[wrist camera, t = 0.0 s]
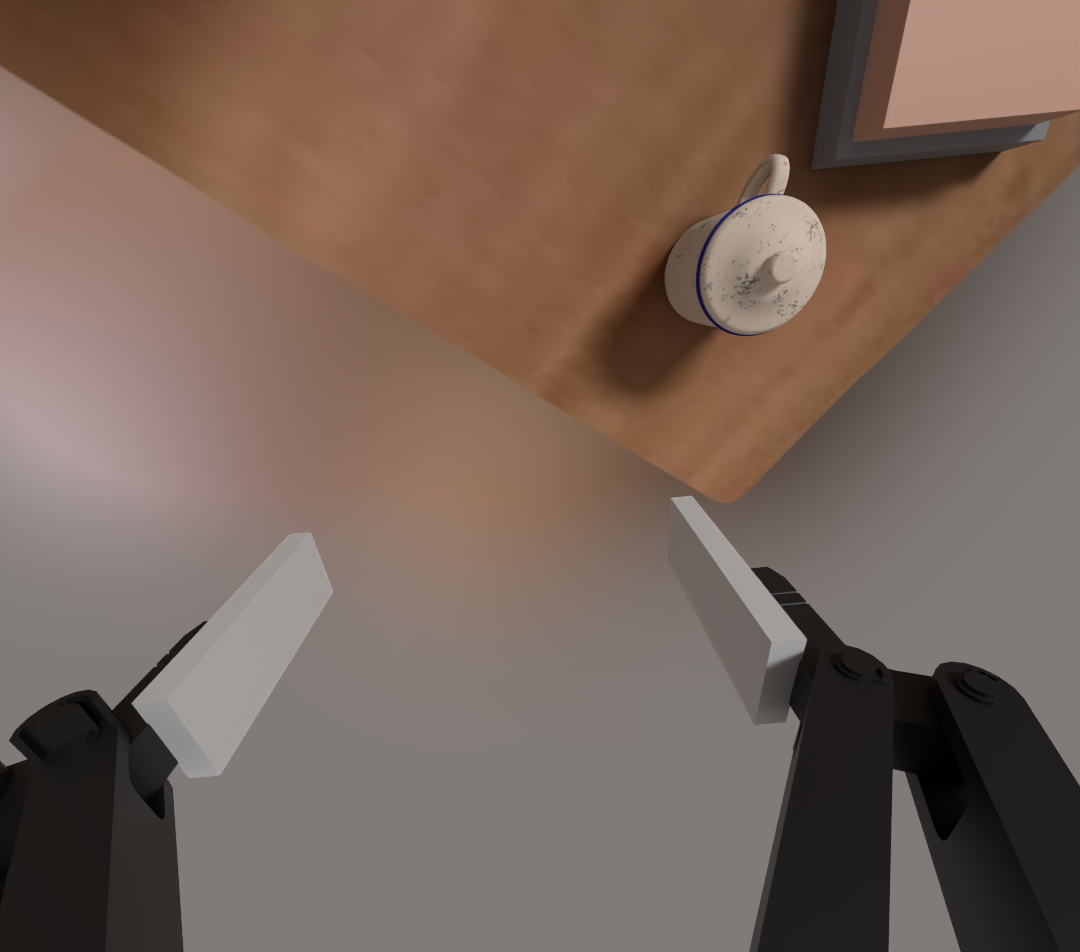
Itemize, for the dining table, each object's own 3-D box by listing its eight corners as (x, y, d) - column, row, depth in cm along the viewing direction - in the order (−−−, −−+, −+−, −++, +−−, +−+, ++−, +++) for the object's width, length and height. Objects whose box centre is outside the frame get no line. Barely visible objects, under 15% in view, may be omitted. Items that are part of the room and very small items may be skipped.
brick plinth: (856, -123, 27) (939, -225, 22) (1096, -147, 27) (1239, -254, 22) (810, 169, 34) (865, 147, 29) (1002, 151, 34) (1093, 125, 29)
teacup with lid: (739, 333, 39) (818, 350, 29) (648, 317, 38) (696, 329, 28) (790, 184, 34) (909, 140, 24) (687, 162, 34) (764, 106, 23)
